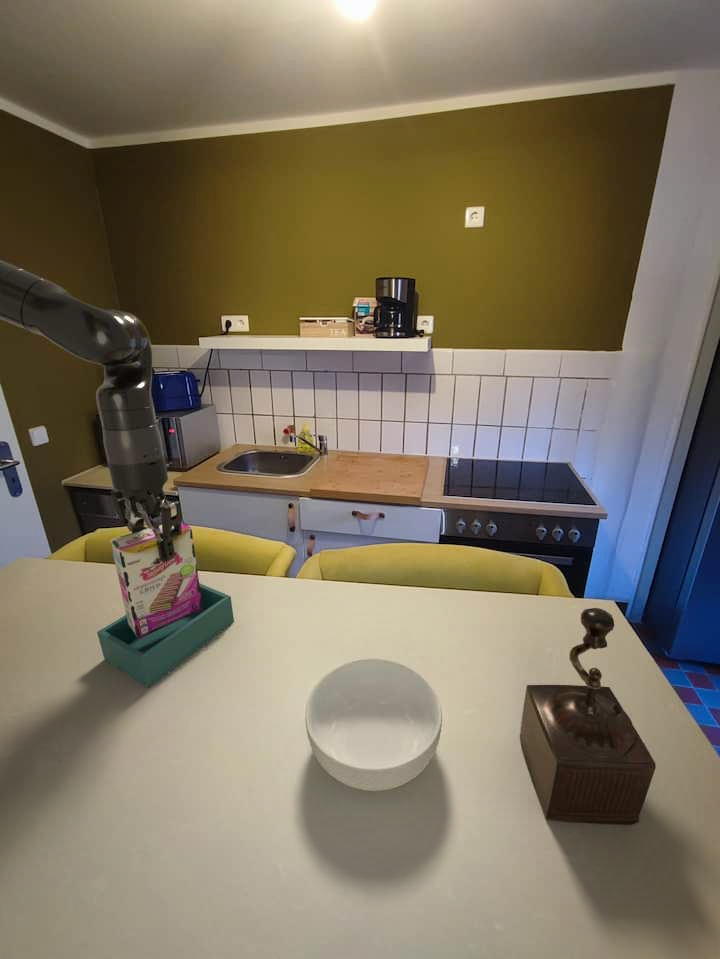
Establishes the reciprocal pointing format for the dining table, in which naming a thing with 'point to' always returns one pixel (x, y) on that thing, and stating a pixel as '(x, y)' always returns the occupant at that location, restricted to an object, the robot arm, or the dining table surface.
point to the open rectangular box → (165, 639)
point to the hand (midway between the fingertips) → (155, 554)
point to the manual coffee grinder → (585, 744)
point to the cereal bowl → (373, 723)
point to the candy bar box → (156, 580)
